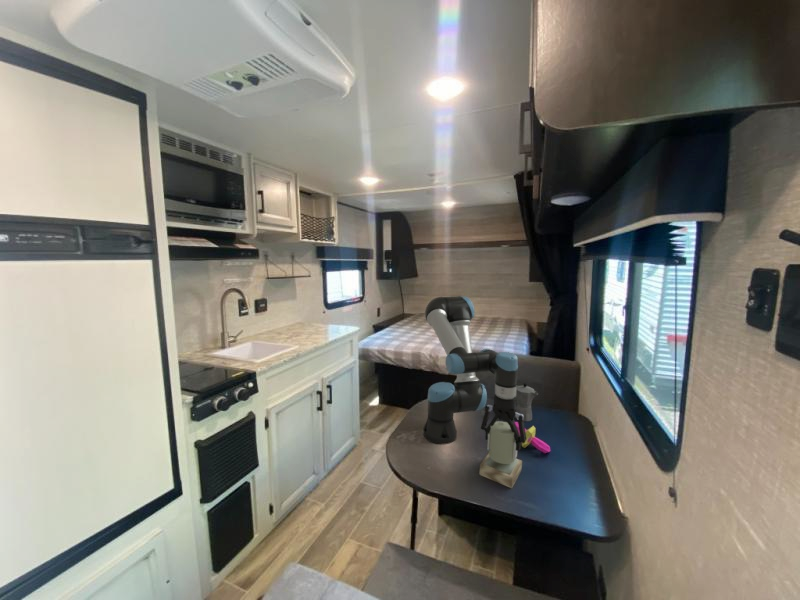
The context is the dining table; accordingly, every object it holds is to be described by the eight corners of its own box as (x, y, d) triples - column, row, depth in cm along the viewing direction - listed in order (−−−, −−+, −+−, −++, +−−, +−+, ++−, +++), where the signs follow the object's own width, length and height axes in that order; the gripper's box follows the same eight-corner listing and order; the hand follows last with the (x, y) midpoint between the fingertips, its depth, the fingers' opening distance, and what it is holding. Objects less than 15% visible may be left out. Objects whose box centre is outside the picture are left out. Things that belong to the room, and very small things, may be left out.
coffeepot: (539, 418, 161) (542, 384, 159) (531, 425, 155) (534, 390, 152) (510, 408, 172) (512, 376, 170) (502, 414, 165) (504, 381, 163)
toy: (541, 463, 127) (553, 440, 127) (501, 434, 138) (512, 414, 138) (545, 461, 135) (557, 439, 135) (507, 434, 146) (518, 414, 146)
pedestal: (479, 474, 119) (479, 464, 119) (490, 458, 129) (491, 448, 128) (511, 488, 112) (512, 477, 112) (521, 470, 122) (522, 459, 121)
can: (510, 449, 124) (512, 420, 122) (518, 464, 115) (520, 433, 113) (486, 448, 124) (487, 419, 123) (492, 463, 115) (493, 432, 113)
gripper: (473, 391, 120) (470, 447, 123) (533, 407, 107) (529, 469, 110) (480, 385, 126) (478, 438, 129) (538, 399, 113) (534, 458, 116)
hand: (501, 452), depth 119 cm, fingers closed on can, 9 cm apart
